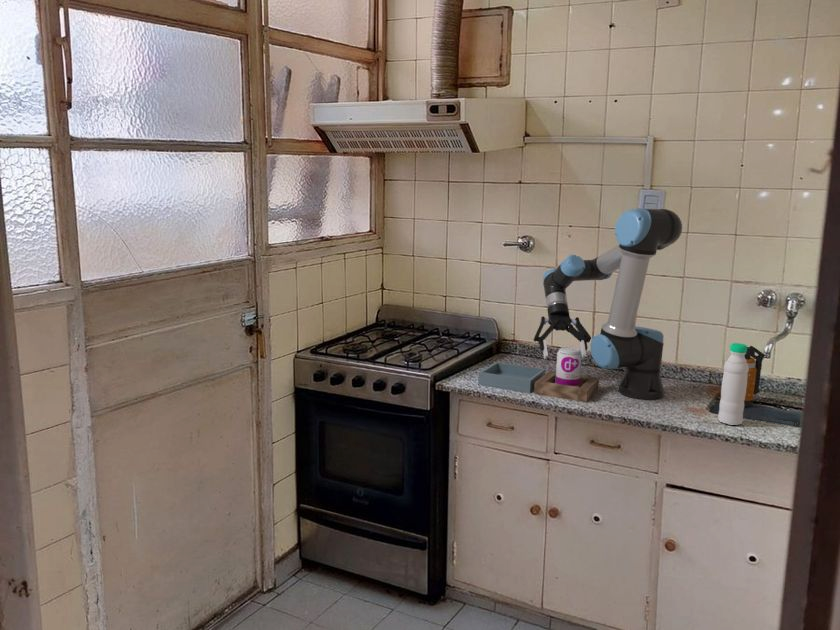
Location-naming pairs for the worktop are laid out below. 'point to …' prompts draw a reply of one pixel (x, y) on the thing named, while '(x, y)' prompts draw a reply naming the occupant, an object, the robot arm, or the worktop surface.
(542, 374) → the tray
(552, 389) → the can holder
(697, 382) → the worktop surface
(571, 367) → the white soda can
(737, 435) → the worktop surface
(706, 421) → the worktop surface
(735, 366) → the white plastic bottle
